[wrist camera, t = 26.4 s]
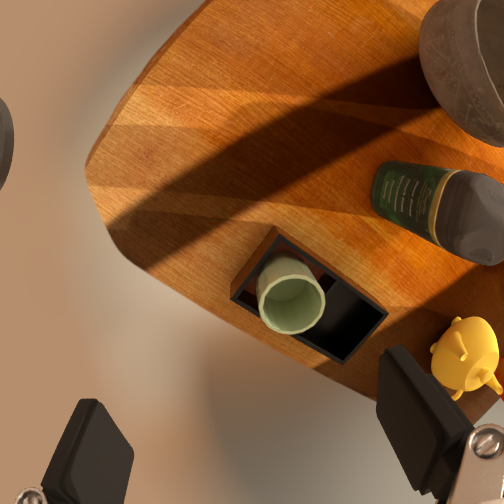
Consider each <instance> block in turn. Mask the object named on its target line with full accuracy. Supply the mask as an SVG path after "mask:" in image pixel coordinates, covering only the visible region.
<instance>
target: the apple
mask: <svg viewBox="0 0 504 504" xmlns="http://www.w3.org/2000/svg"><path fill="white" fill-rule="evenodd" d="M493 374H494V376H495V378H496V379H497V381H498V383H499V384H500V385H501V387H502V388H503V393H502V394H501V395H500V394H499V395H500V397H501V398H502V400H503V401H504V357H503V358H500V359H499V362H498V365H497V368H496V370H495V372H494V373H493Z"/></svg>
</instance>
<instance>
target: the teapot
mask: <svg viewBox="0 0 504 504" xmlns="http://www.w3.org/2000/svg"><path fill="white" fill-rule="evenodd" d="M430 352H431V353H433V356H432V362H431V369H432V373H433V376H435V377H436V379H437V380H438V381H439V382H440V384H441V385H442V386H443V385H444V386H446V387H448V388H451V389H455V390H458V391H457V392H456V393H455V394H454V395H453V396H451V398H452V399H453V400H454V401H456V400H457V399H458V398H459V397H460V396H461V395H462V393H463V391H473V390H476V389H478V388H479V387H481V386H482V385H483V384H487V385H488V386H490V387H491V388H492V389H494V390H495V391H496V393H498V394H500V395H501V394H502V393H503V388H502V387H501V385H500V384H499V383H498V381H497V379H496V378H495V376H494V374H493V373H494V372H495V370H496V368H497V365H498V362H499V350H498V344H497V340H496V337H495V334H494V332H493V330H492V328H491V327H490V325H489V324H488V323H487V322H486V321H485V320H484V319H482V318H480V317H469V318H465V319H462V320H461V318H460V317H456V318H455V319H454V320H453V321H452V323H451V327H449V328H448V329H447V330H446V332H445V333H444V334H443V335H442V336H441V338H440V339H439V341H438V342H436V343H434V344H433V345H432V346H431V348H430Z"/></svg>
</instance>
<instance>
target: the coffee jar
mask: <svg viewBox="0 0 504 504" xmlns="http://www.w3.org/2000/svg"><path fill="white" fill-rule="evenodd" d="M371 205H372V207H373V210H374V211H375V212H376V213H377V214H378V215H379V216H381V217H383V218H385V219H387V220H389V221H391V222H393V223H395V224H397V225H399V226H401V227H403V228H405V229H407V230H409V231H410V232H412V233H414V234H416V235H418V236H420V237H422V238H424V239H425V240H427V241H429V242H431V243H433V244H435V245H437V246H439V247H441V248H443V249H444V250H446V251H448V252H450V253H452V254H454V255H456V256H459V257H461V258H463V259H465V260H468V261H471V262H474V263H478V264H482V265H488V266H491V265H496V264H498V263H500V262H501V261H503V260H504V185H503V184H501V183H499V182H498V181H496V180H494V179H492V178H491V177H489V176H487V175H486V174H479V173H475V172H471V171H467V170H456V169H448V168H441V167H434V166H427V165H420V164H413V163H407V162H400V161H388V162H385V163H384V164H382V165H381V166H380V168H379V169H378V171H377V173H376V175H375V178H374V181H373V185H372V189H371Z"/></svg>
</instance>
